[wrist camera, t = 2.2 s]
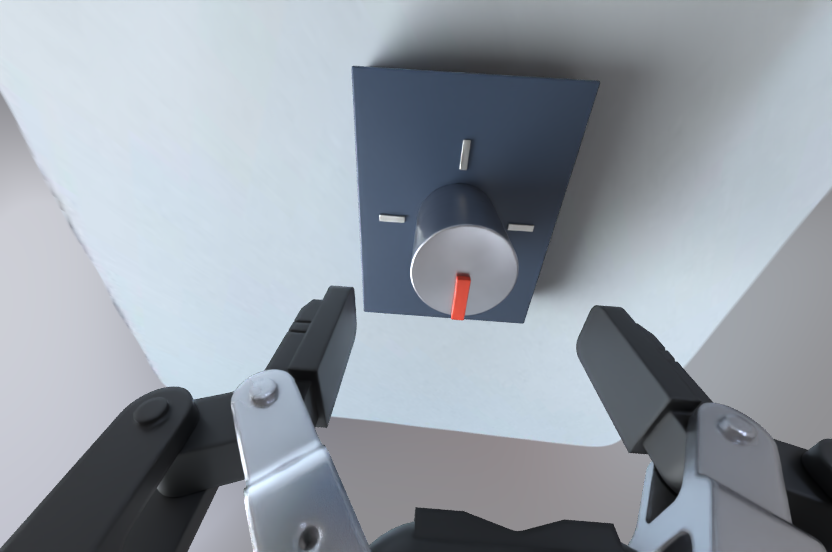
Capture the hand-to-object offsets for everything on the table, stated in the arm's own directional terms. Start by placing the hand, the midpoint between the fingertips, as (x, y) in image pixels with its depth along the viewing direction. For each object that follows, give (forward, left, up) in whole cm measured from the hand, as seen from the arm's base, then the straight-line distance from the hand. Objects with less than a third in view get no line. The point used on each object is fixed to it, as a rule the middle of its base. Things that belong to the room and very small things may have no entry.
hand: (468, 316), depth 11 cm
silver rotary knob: (0, 0, -8) cm, 8 cm away
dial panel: (0, 0, -11) cm, 11 cm away
